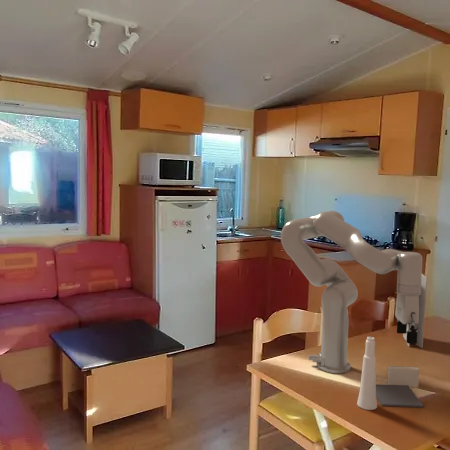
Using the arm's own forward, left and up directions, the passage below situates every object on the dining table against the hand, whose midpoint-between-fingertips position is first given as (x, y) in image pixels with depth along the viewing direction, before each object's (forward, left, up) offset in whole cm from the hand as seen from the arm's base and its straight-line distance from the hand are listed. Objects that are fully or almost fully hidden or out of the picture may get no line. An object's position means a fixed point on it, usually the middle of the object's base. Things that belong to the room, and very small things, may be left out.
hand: (406, 338), depth 158 cm
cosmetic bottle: (-16, -15, -17) cm, 28 cm away
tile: (0, 0, -17) cm, 17 cm away
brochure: (+19, +44, -17) cm, 51 cm away
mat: (-5, -8, -17) cm, 20 cm away
